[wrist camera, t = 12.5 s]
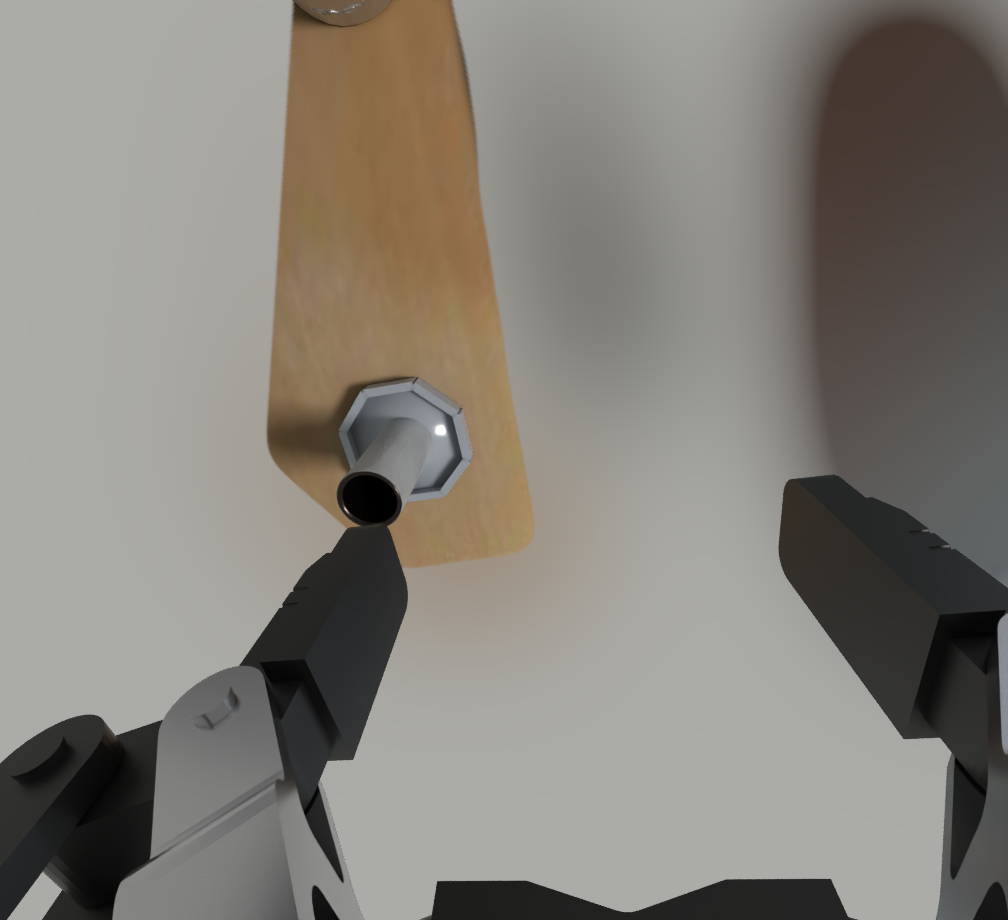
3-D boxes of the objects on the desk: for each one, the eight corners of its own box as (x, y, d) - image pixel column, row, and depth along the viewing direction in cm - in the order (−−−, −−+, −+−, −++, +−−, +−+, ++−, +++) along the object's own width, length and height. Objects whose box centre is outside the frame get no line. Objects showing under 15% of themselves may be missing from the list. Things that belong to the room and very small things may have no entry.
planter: (444, 446, 41) (415, 507, 32) (406, 473, 42) (369, 540, 33) (408, 406, 40) (368, 458, 30) (371, 436, 41) (322, 494, 32)
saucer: (332, 391, 40) (325, 396, 39) (454, 370, 38) (451, 375, 37) (369, 500, 44) (364, 507, 43) (480, 485, 43) (478, 492, 42)
